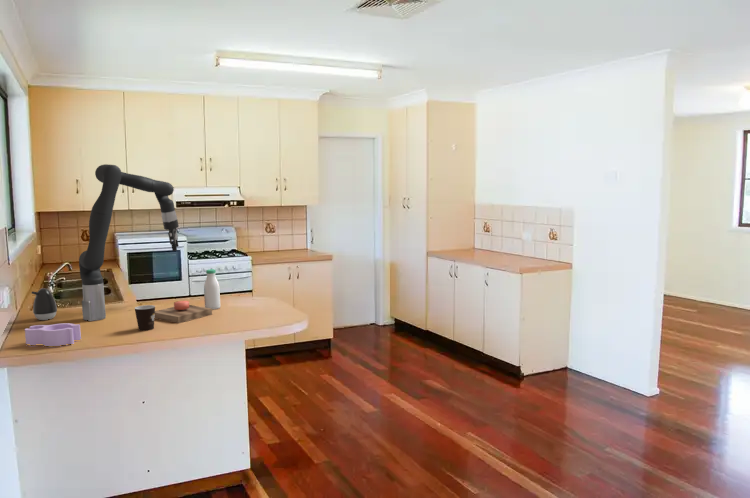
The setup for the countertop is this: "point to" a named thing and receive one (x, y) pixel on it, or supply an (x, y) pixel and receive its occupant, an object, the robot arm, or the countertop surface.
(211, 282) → the milk bottle
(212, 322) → the countertop surface
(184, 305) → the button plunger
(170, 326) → the countertop surface
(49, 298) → the pump dispenser
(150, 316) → the coffee mug
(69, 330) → the purple low wavy piece
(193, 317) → the wooden cutting board
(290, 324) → the countertop surface
